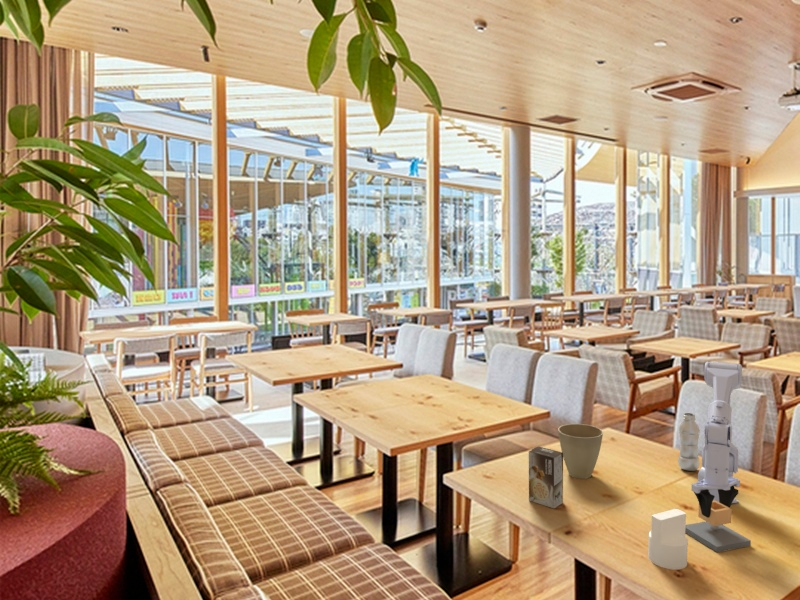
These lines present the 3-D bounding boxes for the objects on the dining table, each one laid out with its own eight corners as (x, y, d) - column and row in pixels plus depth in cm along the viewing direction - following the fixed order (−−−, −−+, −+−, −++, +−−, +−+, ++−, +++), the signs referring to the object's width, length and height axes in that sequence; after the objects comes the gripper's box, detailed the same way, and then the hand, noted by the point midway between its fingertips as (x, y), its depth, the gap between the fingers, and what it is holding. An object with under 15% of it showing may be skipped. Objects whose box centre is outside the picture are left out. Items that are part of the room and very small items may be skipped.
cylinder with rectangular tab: (669, 573, 140) (670, 525, 139) (640, 555, 148) (641, 510, 147) (695, 564, 144) (697, 518, 143) (665, 547, 152) (667, 503, 151)
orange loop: (698, 516, 160) (698, 502, 160) (714, 513, 162) (715, 500, 161) (714, 526, 155) (715, 511, 154) (731, 523, 156) (731, 508, 156)
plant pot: (556, 465, 209) (556, 422, 208) (599, 468, 206) (599, 424, 205) (558, 481, 195) (559, 436, 193) (605, 485, 192) (606, 438, 190)
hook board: (682, 530, 160) (682, 510, 160) (714, 524, 163) (714, 505, 163) (716, 552, 149) (717, 531, 148) (750, 545, 152) (751, 524, 151)
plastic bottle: (676, 465, 208) (676, 411, 206) (697, 466, 205) (697, 412, 204) (679, 472, 201) (679, 416, 200) (701, 473, 199) (701, 417, 198)
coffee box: (564, 502, 179) (564, 452, 178) (554, 509, 175) (554, 458, 173) (537, 494, 185) (538, 445, 184) (527, 500, 181) (527, 451, 179)
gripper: (706, 475, 151) (704, 524, 152) (750, 468, 155) (748, 516, 156) (686, 465, 158) (684, 513, 159) (728, 459, 162) (726, 505, 163)
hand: (714, 514), depth 158 cm, fingers closed on orange loop, 6 cm apart
